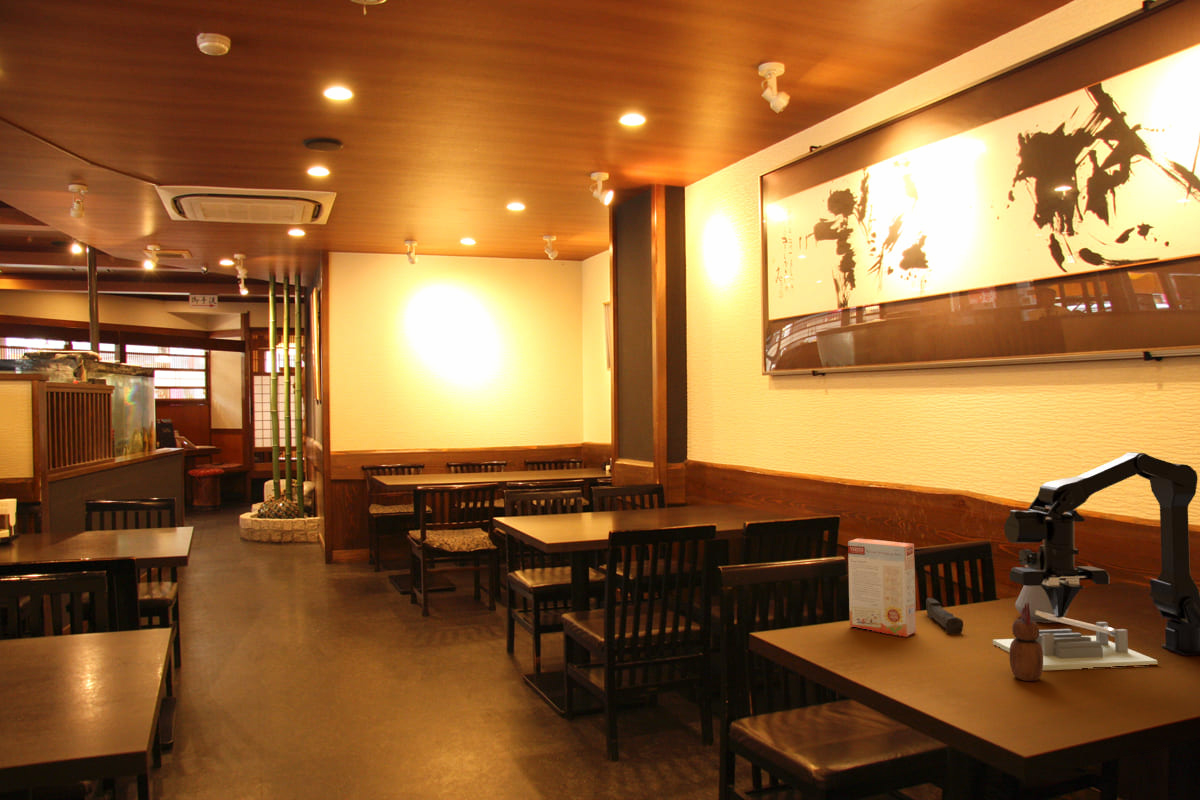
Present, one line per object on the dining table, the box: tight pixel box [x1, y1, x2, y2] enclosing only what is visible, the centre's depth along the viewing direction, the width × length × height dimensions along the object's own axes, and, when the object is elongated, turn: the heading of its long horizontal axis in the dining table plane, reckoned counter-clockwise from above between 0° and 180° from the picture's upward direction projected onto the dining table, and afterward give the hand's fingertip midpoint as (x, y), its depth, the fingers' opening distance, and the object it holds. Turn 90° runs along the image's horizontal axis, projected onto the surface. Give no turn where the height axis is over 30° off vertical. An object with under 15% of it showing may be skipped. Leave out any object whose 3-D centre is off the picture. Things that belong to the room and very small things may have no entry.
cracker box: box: [847, 538, 917, 638], centre depth 192 cm, size 14×6×21 cm, turn 47°
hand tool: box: [925, 597, 964, 635], centre depth 198 cm, size 19×4×5 cm, turn 174°
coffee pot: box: [1014, 565, 1069, 624], centre depth 196 cm, size 21×12×15 cm, turn 142°
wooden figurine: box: [1008, 603, 1043, 682], centre depth 158 cm, size 7×6×15 cm
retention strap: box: [1035, 611, 1116, 638], centre depth 172 cm, size 17×4×2 cm, turn 94°
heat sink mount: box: [992, 621, 1158, 671], centre depth 172 cm, size 24×18×6 cm
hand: (1059, 616), depth 172 cm, fingers closed
